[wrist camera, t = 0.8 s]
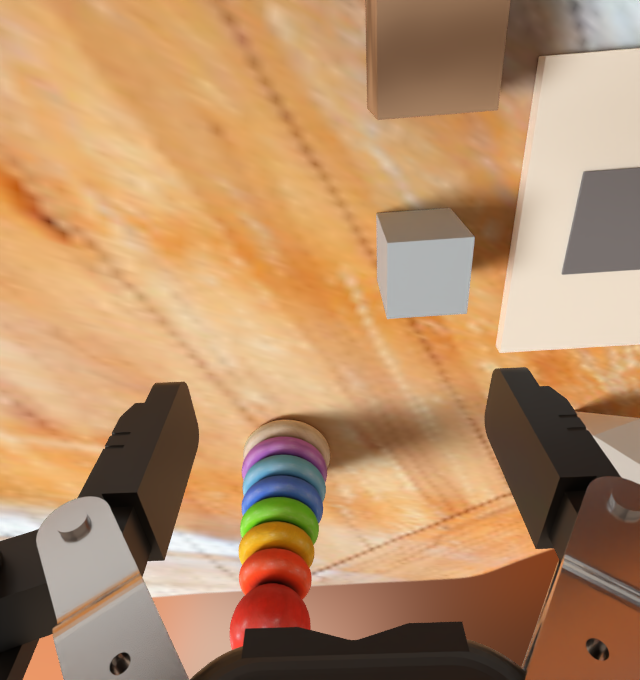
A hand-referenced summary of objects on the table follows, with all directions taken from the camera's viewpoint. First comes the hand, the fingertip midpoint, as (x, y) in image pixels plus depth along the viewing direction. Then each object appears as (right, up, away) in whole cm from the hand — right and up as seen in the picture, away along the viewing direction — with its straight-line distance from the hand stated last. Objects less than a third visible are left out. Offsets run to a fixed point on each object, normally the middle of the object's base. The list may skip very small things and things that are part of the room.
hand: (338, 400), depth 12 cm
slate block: (+6, +8, +21) cm, 23 cm away
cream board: (+20, +10, +20) cm, 30 cm away
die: (+23, -7, +30) cm, 39 cm away
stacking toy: (-3, -8, +31) cm, 32 cm away
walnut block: (+5, +19, +15) cm, 24 cm away
